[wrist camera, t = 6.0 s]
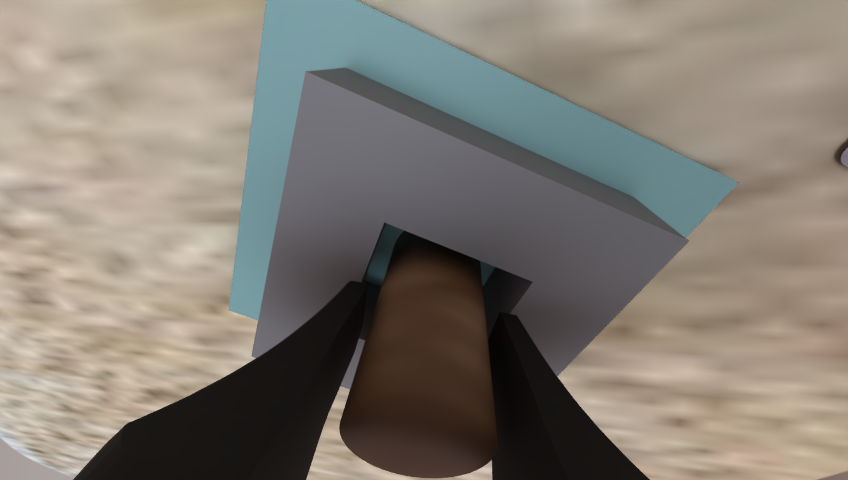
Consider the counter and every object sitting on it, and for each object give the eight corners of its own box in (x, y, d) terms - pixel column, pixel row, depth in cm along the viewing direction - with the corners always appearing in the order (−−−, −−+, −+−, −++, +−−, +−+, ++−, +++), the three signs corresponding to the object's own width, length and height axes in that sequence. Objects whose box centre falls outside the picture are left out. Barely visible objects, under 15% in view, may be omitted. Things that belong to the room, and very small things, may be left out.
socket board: (720, 174, 13) (832, 224, 9) (516, 396, 21) (530, 474, 17) (285, -33, 11) (192, -82, 7) (239, 298, 19) (182, 361, 15)
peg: (489, 229, 14) (519, 411, 7) (468, 297, 16) (476, 487, 9) (397, 213, 14) (340, 380, 7) (389, 284, 16) (338, 463, 9)
